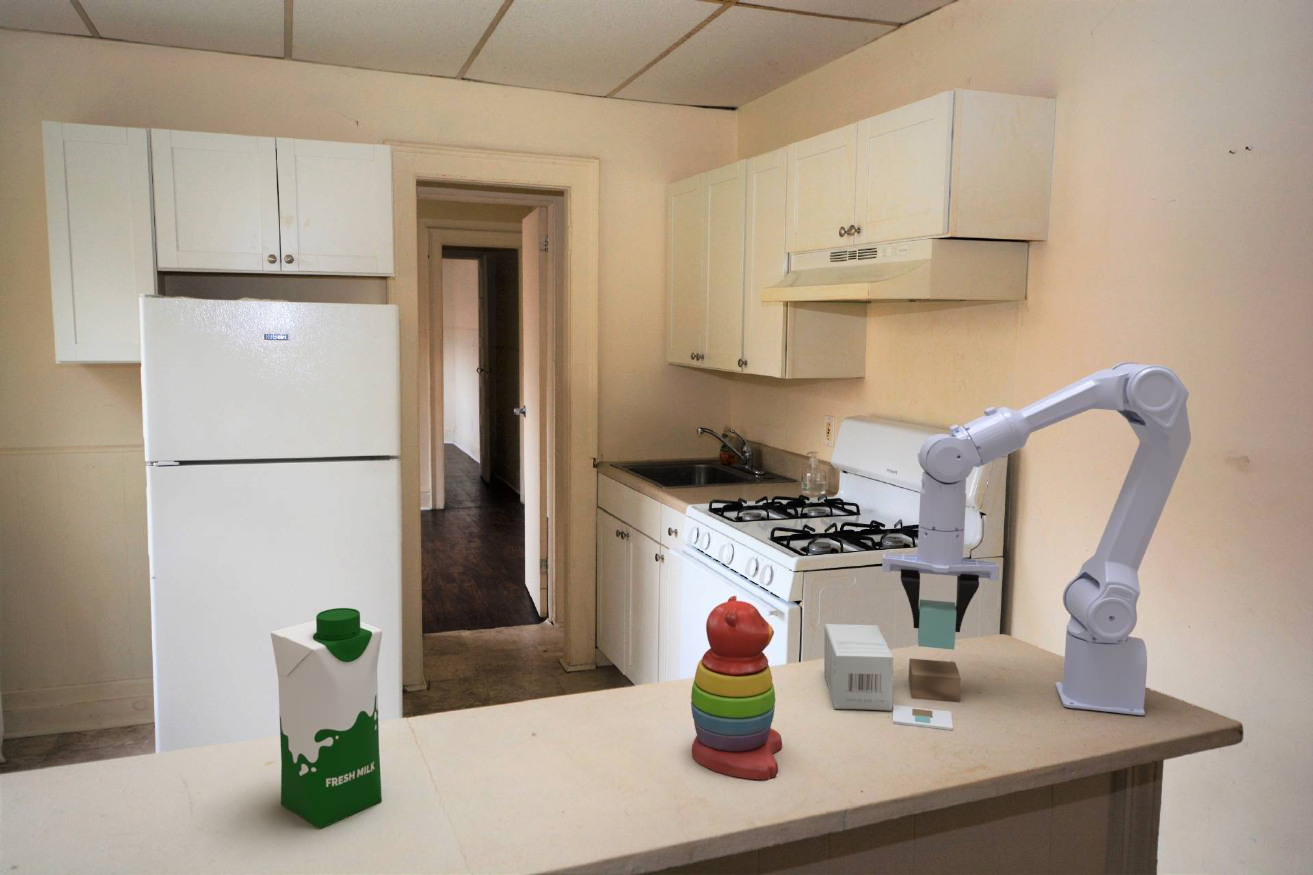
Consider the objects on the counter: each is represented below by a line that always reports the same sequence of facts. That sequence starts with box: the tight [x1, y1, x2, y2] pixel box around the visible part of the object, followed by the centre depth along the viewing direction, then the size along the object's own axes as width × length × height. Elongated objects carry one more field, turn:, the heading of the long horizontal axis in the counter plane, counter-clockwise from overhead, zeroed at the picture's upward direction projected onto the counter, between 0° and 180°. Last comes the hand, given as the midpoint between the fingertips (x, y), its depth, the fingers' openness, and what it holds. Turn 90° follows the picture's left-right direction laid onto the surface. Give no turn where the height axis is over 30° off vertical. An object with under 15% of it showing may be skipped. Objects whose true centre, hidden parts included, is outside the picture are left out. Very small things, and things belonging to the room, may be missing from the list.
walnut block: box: [907, 658, 961, 704], centre depth 125 cm, size 6×6×4 cm
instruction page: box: [892, 704, 954, 731], centre depth 117 cm, size 7×5×1 cm
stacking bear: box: [690, 595, 783, 780], centre depth 105 cm, size 11×10×18 cm
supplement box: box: [823, 623, 894, 712], centre depth 125 cm, size 7×7×13 cm
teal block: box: [917, 598, 956, 651], centre depth 124 cm, size 4×4×5 cm
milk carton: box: [270, 607, 383, 829], centre depth 93 cm, size 9×9×20 cm
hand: (936, 627), depth 125 cm, fingers closed on teal block, 4 cm apart
